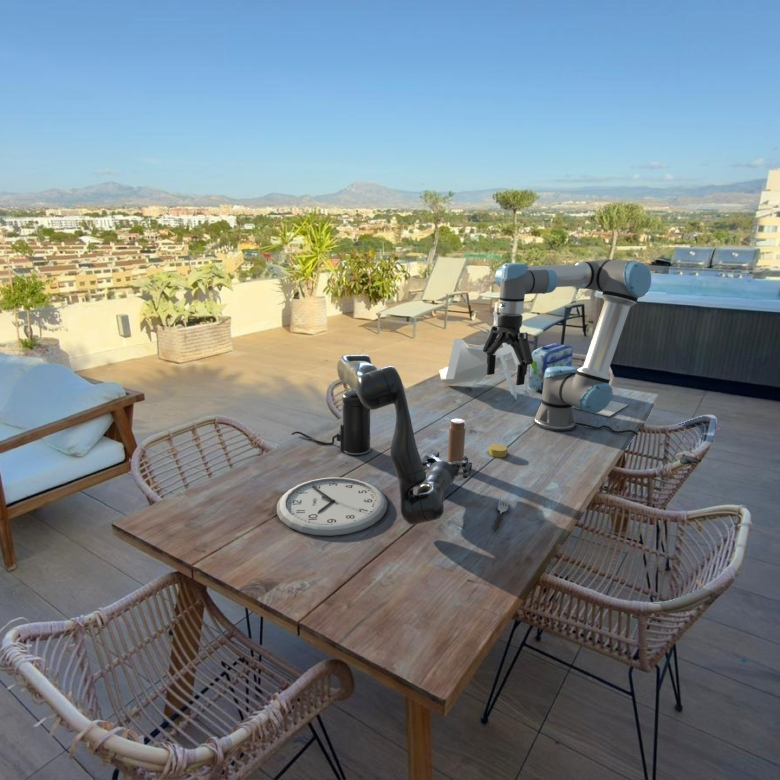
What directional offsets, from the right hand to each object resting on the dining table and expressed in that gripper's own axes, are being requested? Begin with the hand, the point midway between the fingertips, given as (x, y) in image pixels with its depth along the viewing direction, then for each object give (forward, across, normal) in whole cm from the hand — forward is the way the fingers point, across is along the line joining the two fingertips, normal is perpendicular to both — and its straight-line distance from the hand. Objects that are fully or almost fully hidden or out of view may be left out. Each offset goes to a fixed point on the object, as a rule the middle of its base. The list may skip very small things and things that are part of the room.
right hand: (504, 379), depth 170 cm
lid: (+24, 0, 0) cm, 24 cm away
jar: (+26, 0, -19) cm, 33 cm away
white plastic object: (+26, -56, +40) cm, 74 cm away
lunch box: (+26, -45, +75) cm, 91 cm away
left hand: (+20, +5, -25) cm, 32 cm away
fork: (+26, +31, -28) cm, 50 cm away
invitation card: (+26, -14, +73) cm, 79 cm away
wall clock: (+26, +3, -64) cm, 69 cm away
